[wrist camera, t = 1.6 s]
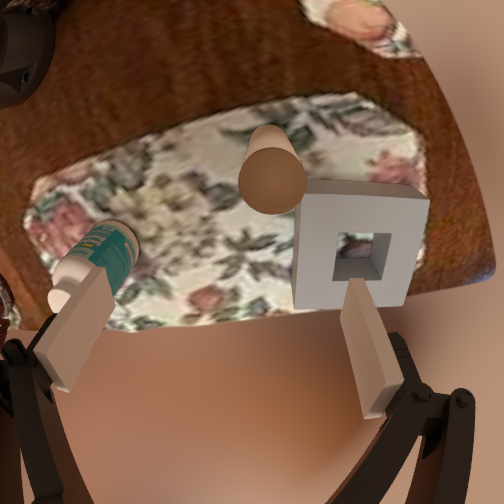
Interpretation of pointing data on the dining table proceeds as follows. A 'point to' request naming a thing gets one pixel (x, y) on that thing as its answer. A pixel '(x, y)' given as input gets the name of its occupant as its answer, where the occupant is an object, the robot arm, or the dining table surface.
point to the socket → (358, 221)
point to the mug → (4, 309)
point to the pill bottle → (95, 260)
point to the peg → (271, 172)
